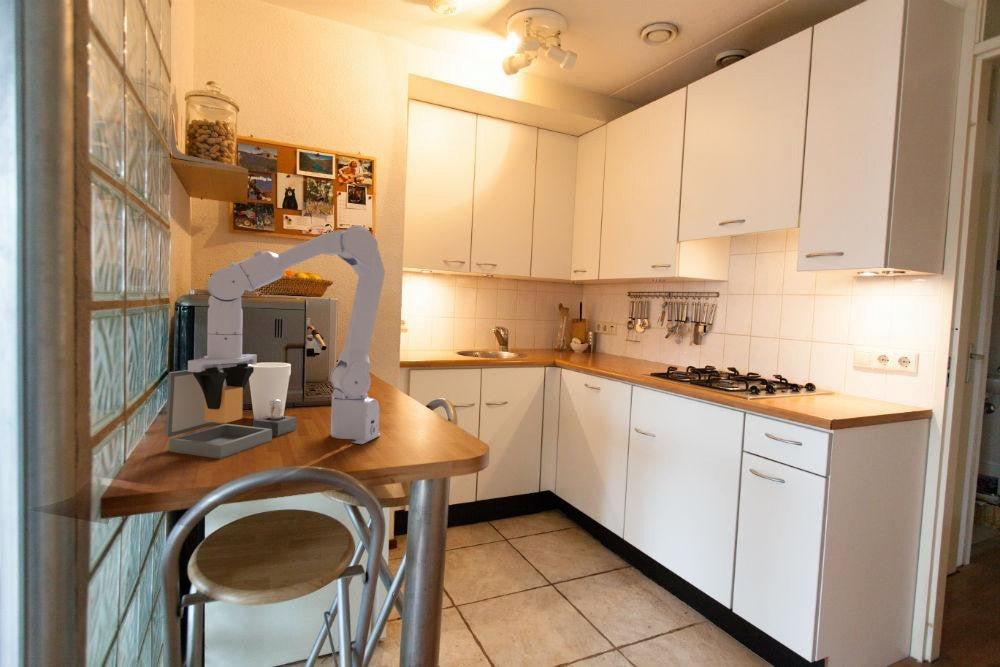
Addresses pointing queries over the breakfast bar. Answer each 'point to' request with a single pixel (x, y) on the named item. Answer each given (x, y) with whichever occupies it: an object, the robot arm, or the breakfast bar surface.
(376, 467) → the breakfast bar surface
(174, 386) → the lid
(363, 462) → the breakfast bar surface
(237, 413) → the block
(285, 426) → the grey square socket
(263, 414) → the foam cup
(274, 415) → the white upright cylinder
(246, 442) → the grey shallow rectangular tray
